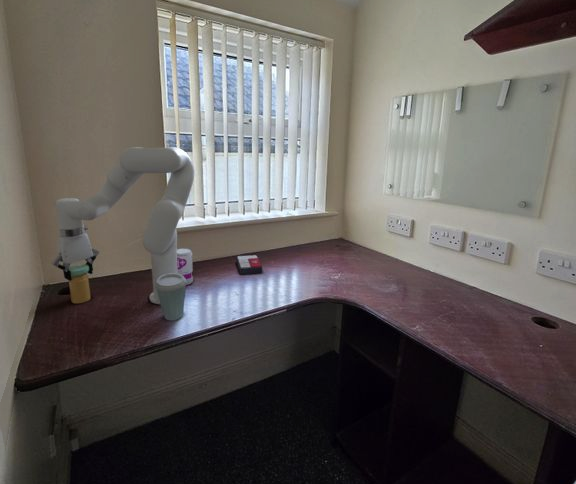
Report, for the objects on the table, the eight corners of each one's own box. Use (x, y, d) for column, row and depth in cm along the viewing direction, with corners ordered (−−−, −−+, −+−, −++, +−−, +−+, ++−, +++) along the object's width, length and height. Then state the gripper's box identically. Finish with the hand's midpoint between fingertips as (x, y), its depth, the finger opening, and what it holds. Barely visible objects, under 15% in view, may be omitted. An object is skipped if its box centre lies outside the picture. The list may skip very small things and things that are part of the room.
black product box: (240, 267, 153) (236, 255, 166) (240, 275, 154) (236, 262, 168) (262, 266, 156) (257, 254, 169) (262, 273, 157) (256, 261, 171)
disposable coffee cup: (192, 318, 114) (190, 280, 110) (161, 327, 108) (158, 287, 104) (183, 306, 123) (181, 269, 119) (153, 313, 117) (150, 275, 113)
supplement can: (187, 287, 138) (186, 255, 134) (170, 285, 140) (168, 252, 136) (196, 279, 146) (195, 249, 142) (179, 277, 147) (178, 247, 143)
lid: (66, 271, 121) (65, 267, 121) (86, 266, 126) (85, 262, 126) (70, 276, 117) (70, 272, 116) (91, 271, 121) (90, 267, 121)
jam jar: (92, 299, 124) (90, 275, 122) (73, 305, 120) (70, 279, 117) (87, 294, 129) (85, 270, 126) (69, 299, 124) (65, 274, 121)
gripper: (92, 225, 126) (97, 267, 131) (40, 235, 112) (49, 281, 117) (101, 228, 122) (107, 271, 127) (49, 239, 108) (58, 287, 113)
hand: (79, 276), depth 122 cm, fingers closed on lid, 6 cm apart
